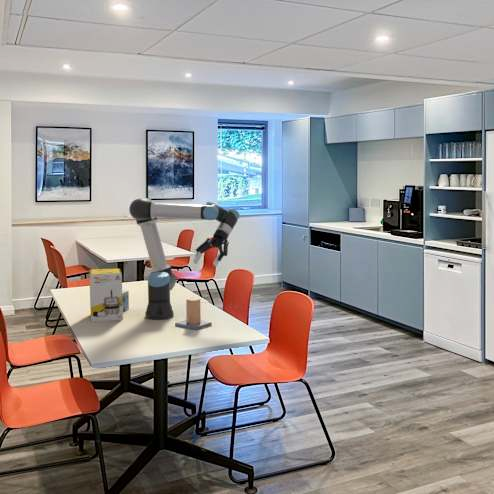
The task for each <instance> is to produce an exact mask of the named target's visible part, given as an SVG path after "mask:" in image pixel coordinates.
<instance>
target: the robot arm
mask: <svg viewBox="0 0 494 494" xmlns="http://www.w3.org/2000/svg"><path fill="white" fill-rule="evenodd" d="M128 210H129V215H130V216H131V217H132V218H133V219H135V222H136V224H137V226H139V227H140V230H141V232H142V236H143V239H144V243H145V246H146V251H147V253H148V254H147V255H148V258H149V261H150V262H149V263H150V266H151V270H150V271H149V272H150V273H149V274H148V276H147V293H148V294H147V296H148V297H147V299H148V302H147V306H146V309H145V310H146V311H145V313H144V314H145V318H146V319H149V320H166V319H170V318H173V317H174V314H175V313H174V310H173V307H172V303H171V291H172V290H173V289H174V287H175V286H176V276H175V274H174V273H173V271H172V266H171V265H169V264H168V263H167V259H166V255H165V252H164V248H163V244H162V240H161V237H160V234H159V230H158V226H157V222H158V220H159V219H160V218H161V219H184V220H185V219H186V220H189V219H190V220H207V221H214V220H216V221H217V222H219V225H217V228H216V230H215V231H214V234H212V238H211V239H210V238H209V237H207V238H206V240H204V242H202V243H201V244H200V245H199V246H198V247H196V249H195V251H196V254H195V256H194V259H193V260H192V261H193V264H195V265H197V264H198V263H199V261H200V259H201V258H202V256H203V254H205V252H207V251H208V250H210V249H213V248H217V249H218V251H219V253H218V254H217V255H216V257H215V259H214V260H213V263H212V264H213V266H214V267H215V268H216V267H217V266H218V265H219V263H220V262H221V261H222V259H223V258H224V257H227V256H228V253H229V252H228V251H229V240H228V238H229V236H230V234H231V233H232V231H233V229H234V228H235V226H236V225H237V222H238V220H239V218H240V213H239V211H238V210H237V209H234V208H232V207H231V208H228V209H225V208H223V207H221V206H220V205H218V204H216V203H215V202H212V201H208V200H207V202H206V203H205V205H204V204H180V203H179V204H177V203H156V202H154V201H153V200H152V199H150V198H148V197H141V198H137V199H134V200H133V201H132V202H131V203H130V204H129V208H128ZM158 218H159V219H158Z"/></svg>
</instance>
